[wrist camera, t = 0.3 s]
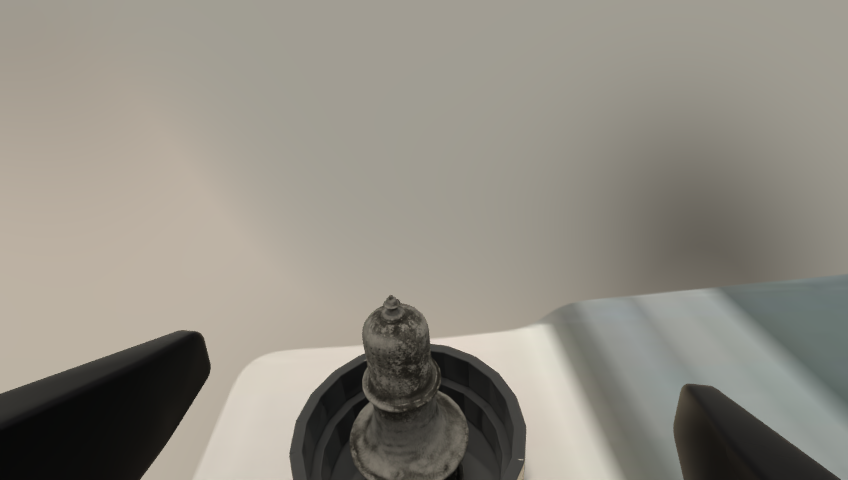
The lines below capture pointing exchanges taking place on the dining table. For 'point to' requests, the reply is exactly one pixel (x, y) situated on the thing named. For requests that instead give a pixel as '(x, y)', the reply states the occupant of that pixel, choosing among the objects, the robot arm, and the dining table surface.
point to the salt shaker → (405, 404)
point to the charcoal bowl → (460, 380)
